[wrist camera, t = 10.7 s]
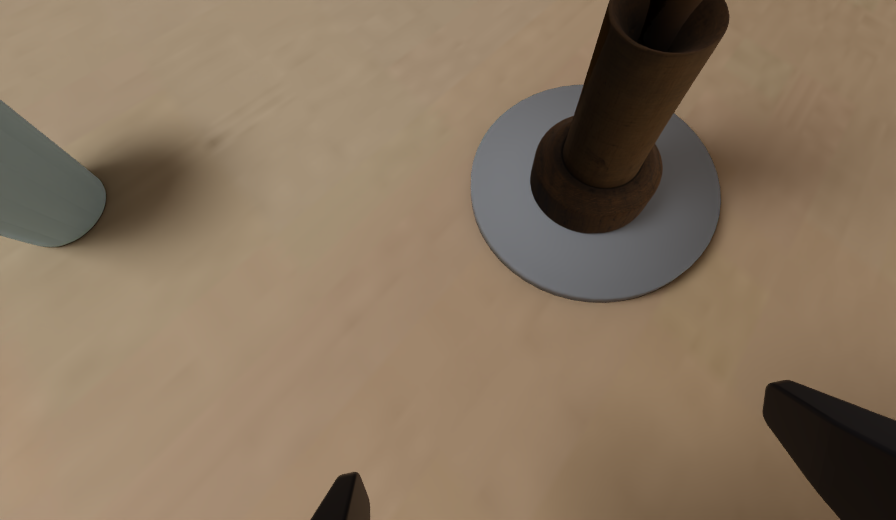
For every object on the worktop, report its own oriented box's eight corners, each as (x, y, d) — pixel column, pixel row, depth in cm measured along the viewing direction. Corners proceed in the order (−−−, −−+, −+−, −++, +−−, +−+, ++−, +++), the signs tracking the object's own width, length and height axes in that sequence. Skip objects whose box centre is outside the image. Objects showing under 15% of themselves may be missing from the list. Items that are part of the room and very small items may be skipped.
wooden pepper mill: (629, 129, 26) (922, -430, 9) (662, 225, 23) (1147, -278, 6) (520, 145, 26) (599, -375, 9) (542, 243, 23) (706, -206, 7)
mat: (764, 198, 24) (775, 190, 23) (589, 356, 22) (594, 353, 21) (586, 61, 29) (589, 49, 28) (425, 180, 26) (423, 171, 26)
